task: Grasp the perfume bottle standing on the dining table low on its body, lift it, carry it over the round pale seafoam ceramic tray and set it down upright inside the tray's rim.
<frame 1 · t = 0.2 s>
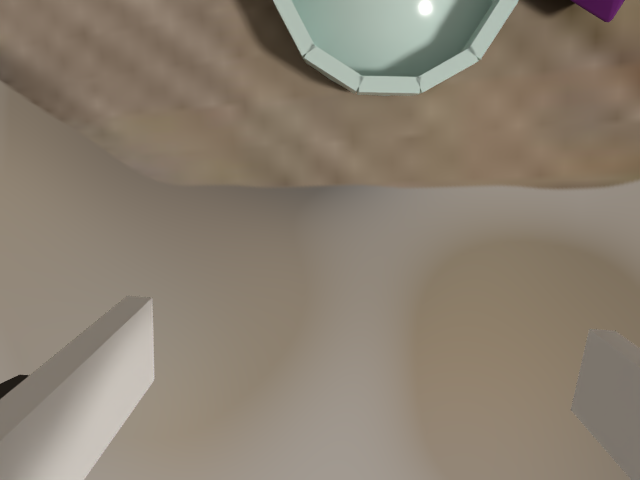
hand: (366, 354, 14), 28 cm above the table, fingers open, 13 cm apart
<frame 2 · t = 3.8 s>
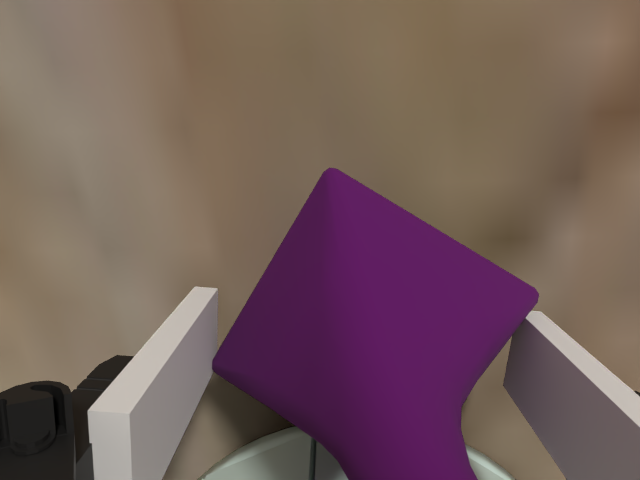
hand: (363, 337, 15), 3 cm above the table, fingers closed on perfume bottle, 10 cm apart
perfume bottle: (362, 292, 17), on the table, touching gripper
when the fingers open (5 cm above the table, at t = 9.5 s): perfume bottle drops 1 cm, resting on round tray.
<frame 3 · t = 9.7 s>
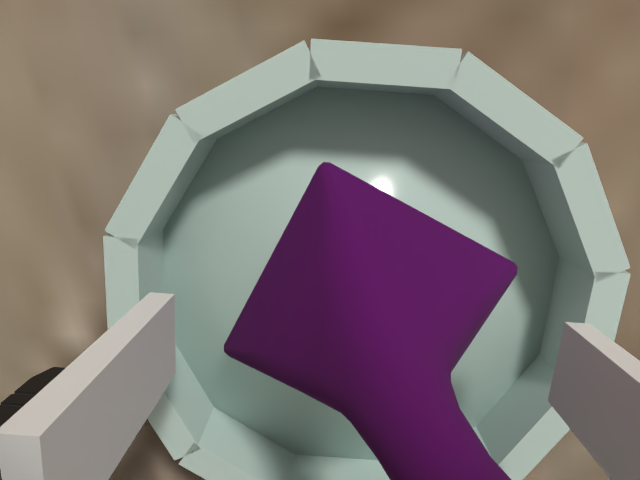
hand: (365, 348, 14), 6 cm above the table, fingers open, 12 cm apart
round tray: (354, 285, 20), on the table
perfume bottle: (358, 277, 19), point 1 cm above the table, touching round tray
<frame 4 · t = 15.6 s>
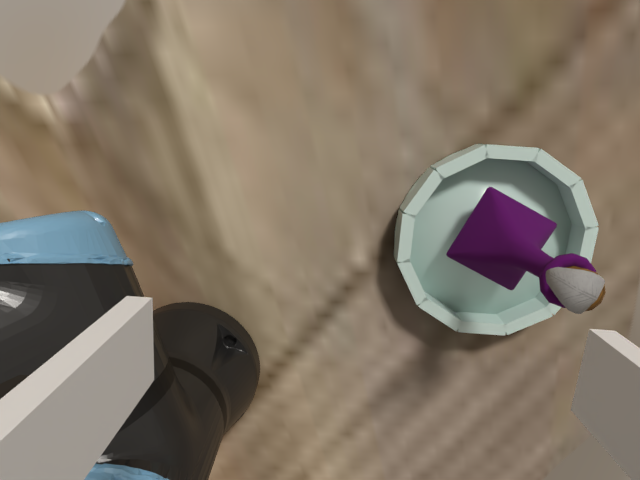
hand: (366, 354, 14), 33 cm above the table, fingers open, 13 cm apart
round tray: (484, 236, 46), on the table
perfume bottle: (488, 231, 45), point 1 cm above the table, touching round tray
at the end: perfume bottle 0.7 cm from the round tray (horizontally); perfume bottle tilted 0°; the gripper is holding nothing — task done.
